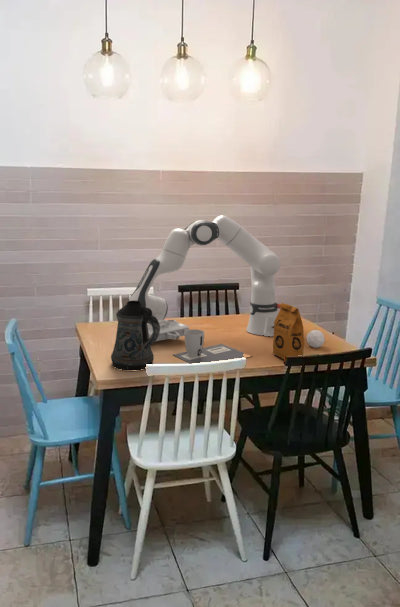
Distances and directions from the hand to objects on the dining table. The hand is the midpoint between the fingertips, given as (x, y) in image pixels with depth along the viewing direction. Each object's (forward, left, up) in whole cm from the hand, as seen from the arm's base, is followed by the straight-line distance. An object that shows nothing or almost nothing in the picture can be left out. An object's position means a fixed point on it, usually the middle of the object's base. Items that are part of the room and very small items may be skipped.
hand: (177, 337), depth 229 cm
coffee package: (-40, +23, -5) cm, 47 cm away
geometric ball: (-58, +13, -5) cm, 60 cm away
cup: (-4, +11, -5) cm, 13 cm away
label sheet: (-12, +13, -5) cm, 18 cm away
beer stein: (+21, +15, -5) cm, 26 cm away
